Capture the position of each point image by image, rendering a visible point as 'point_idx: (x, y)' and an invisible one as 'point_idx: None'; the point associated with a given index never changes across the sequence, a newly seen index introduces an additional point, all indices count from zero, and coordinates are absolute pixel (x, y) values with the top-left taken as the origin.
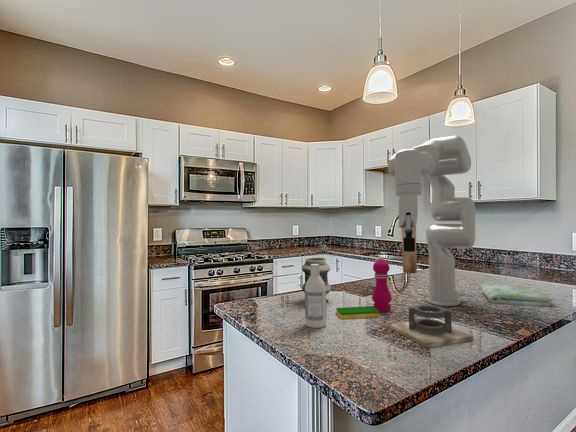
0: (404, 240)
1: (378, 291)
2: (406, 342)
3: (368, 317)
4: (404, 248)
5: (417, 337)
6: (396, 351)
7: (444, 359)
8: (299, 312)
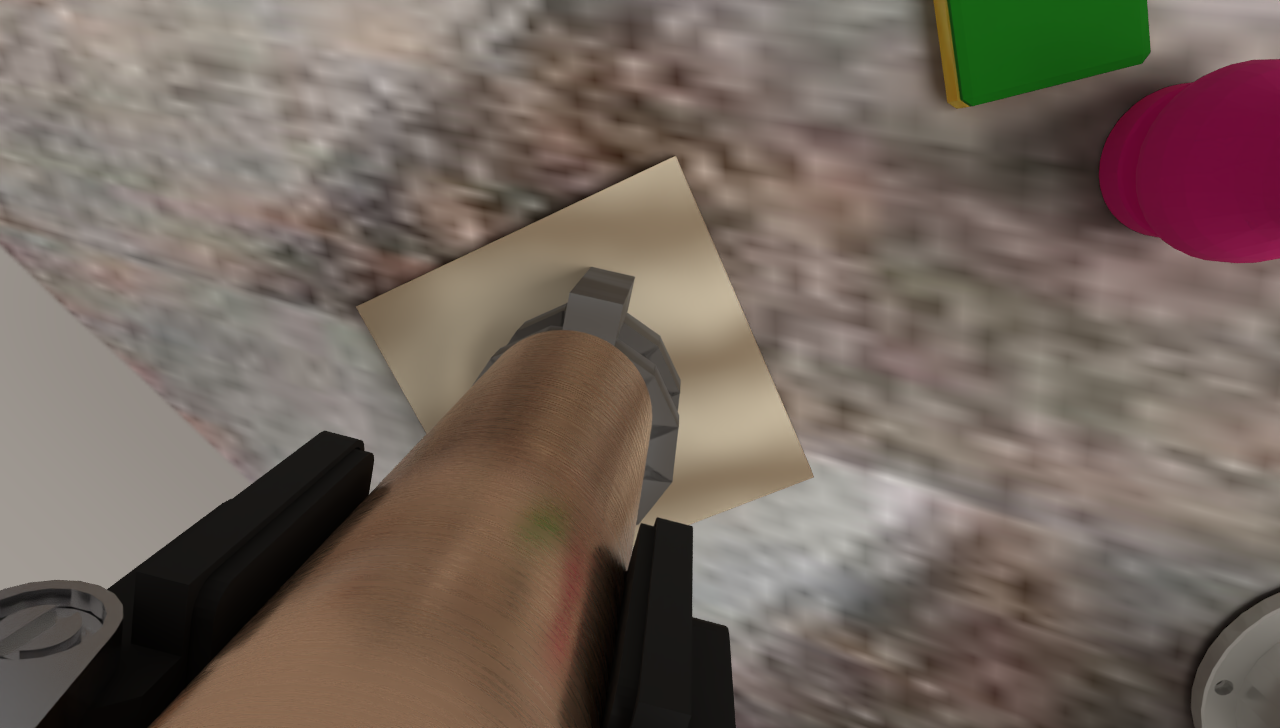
0: (184, 561)
1: (1243, 120)
2: (431, 209)
3: (935, 8)
4: (299, 463)
5: (443, 282)
6: (283, 120)
7: (237, 351)
8: None
